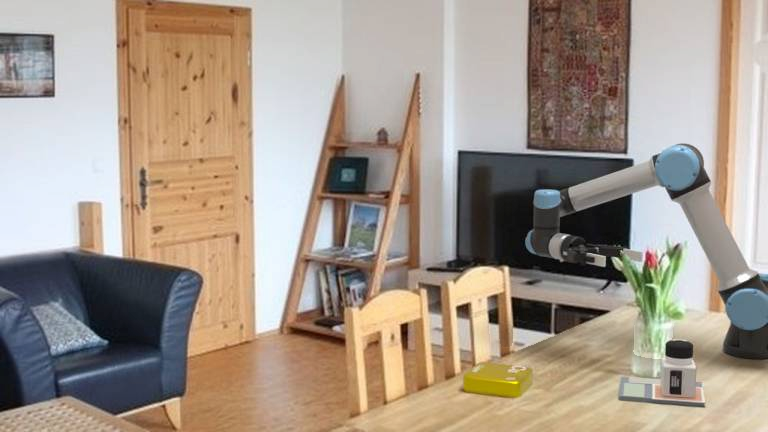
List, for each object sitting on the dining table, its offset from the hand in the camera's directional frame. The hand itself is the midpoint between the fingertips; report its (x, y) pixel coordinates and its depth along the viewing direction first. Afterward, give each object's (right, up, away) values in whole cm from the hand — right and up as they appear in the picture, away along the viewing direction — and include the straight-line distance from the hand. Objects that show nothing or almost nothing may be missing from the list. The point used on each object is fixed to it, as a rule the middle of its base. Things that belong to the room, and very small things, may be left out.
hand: (623, 259), depth 274 cm
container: (+8, -32, -22) cm, 40 cm away
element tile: (-35, -33, -12) cm, 49 cm away
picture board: (+5, -33, -18) cm, 37 cm away
